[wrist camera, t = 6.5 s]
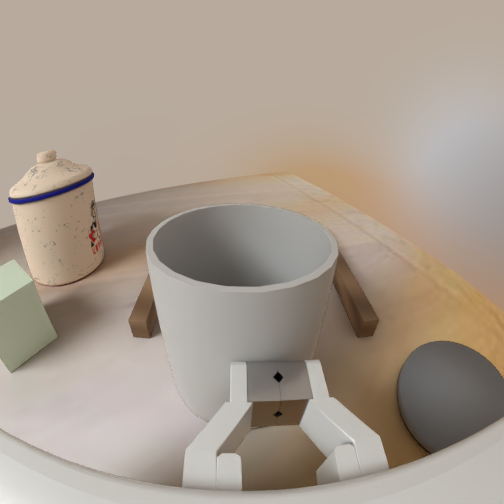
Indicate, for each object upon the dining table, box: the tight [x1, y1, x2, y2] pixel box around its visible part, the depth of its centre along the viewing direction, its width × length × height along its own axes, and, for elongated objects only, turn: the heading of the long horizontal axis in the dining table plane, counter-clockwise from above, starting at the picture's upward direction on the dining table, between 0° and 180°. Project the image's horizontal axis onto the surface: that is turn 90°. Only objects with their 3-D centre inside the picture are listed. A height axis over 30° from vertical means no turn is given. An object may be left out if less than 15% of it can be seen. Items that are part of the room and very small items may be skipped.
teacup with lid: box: [8, 149, 104, 286], centre depth 23 cm, size 12×9×12 cm
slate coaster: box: [397, 341, 504, 454], centre depth 12 cm, size 10×10×1 cm
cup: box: [146, 203, 338, 429], centre depth 14 cm, size 7×10×9 cm
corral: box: [129, 250, 379, 338], centre depth 24 cm, size 16×16×2 cm
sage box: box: [0, 259, 58, 373], centre depth 14 cm, size 5×5×5 cm
